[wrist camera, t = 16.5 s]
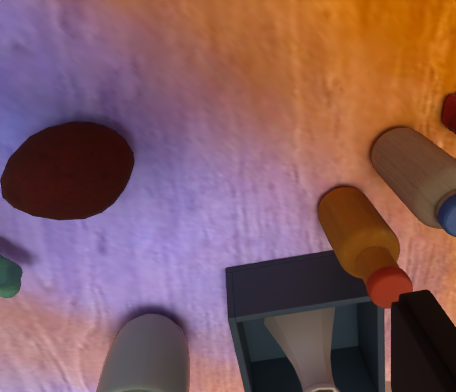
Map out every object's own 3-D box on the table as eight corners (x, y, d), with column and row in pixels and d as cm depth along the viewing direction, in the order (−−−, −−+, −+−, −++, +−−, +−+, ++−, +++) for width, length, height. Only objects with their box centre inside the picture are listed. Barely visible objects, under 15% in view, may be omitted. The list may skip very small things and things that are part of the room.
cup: (157, 288, 41) (143, 373, 33) (206, 335, 44) (205, 424, 36) (99, 326, 43) (70, 415, 34) (149, 368, 46) (135, 460, 37)
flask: (327, 275, 40) (360, 359, 32) (340, 329, 44) (374, 419, 35) (254, 294, 41) (266, 381, 32) (272, 346, 44) (288, 438, 36)
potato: (110, 121, 28) (119, 98, 33) (-38, 164, 28) (-6, 135, 33) (148, 213, 31) (150, 179, 37) (15, 252, 31) (37, 212, 37)
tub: (245, 361, 46) (250, 418, 40) (225, 267, 41) (227, 318, 35) (362, 342, 46) (385, 398, 40) (358, 245, 40) (384, 293, 34)
